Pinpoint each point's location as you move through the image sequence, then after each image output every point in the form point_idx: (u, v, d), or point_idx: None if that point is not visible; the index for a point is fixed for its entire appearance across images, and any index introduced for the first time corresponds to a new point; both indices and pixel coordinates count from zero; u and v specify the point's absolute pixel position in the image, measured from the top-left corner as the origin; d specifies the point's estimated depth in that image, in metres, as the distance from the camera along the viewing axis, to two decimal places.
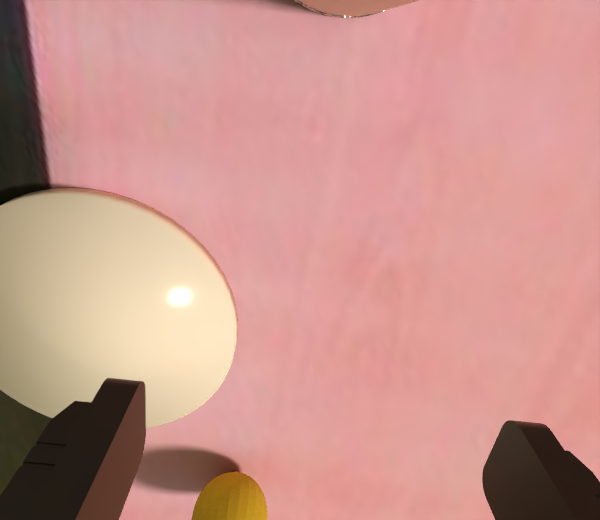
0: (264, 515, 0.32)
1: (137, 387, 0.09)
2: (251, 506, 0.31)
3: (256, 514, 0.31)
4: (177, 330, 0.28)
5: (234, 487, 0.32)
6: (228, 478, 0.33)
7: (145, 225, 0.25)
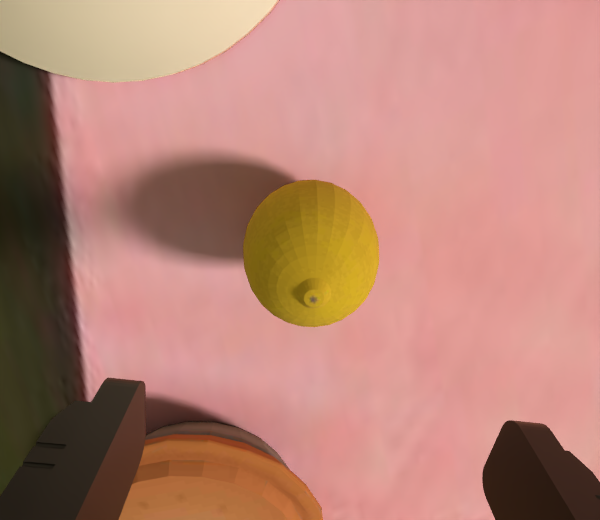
0: (375, 232, 0.18)
1: (137, 387, 0.09)
2: (356, 203, 0.17)
3: (366, 216, 0.17)
4: None
5: (321, 181, 0.18)
6: (307, 180, 0.19)
7: None
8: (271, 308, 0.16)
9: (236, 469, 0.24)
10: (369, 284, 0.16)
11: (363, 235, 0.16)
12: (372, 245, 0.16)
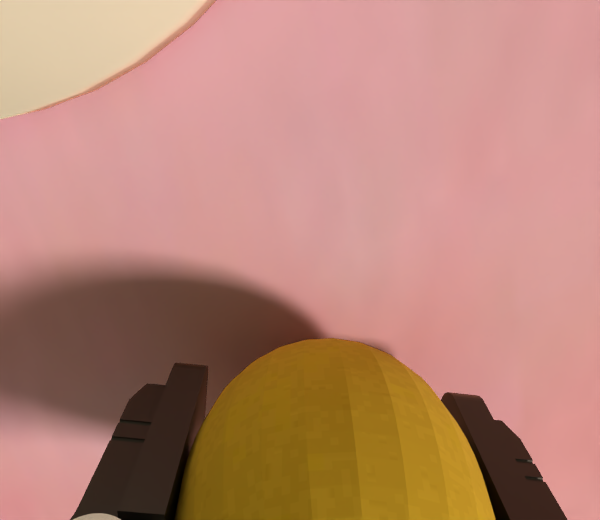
0: None
1: (204, 371, 0.09)
2: (446, 433, 0.07)
3: (472, 471, 0.07)
4: None
5: (357, 364, 0.08)
6: (322, 343, 0.09)
7: None
8: None
9: None
10: None
11: None
12: None
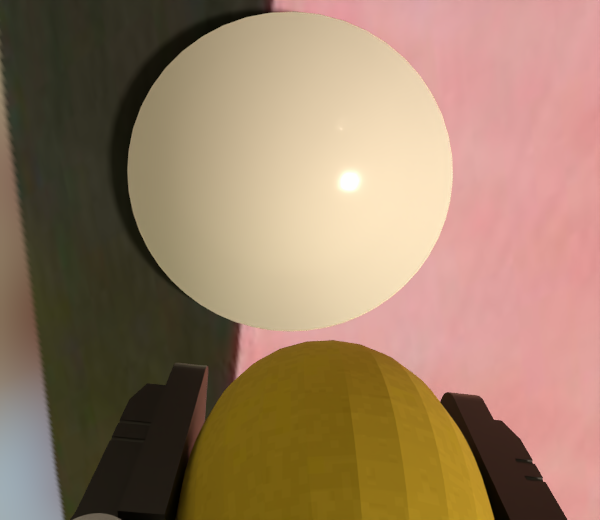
0: None
1: (204, 371, 0.09)
2: (446, 436, 0.07)
3: (472, 474, 0.07)
4: (385, 197, 0.25)
5: (357, 366, 0.08)
6: (322, 345, 0.09)
7: (381, 55, 0.22)
8: None
9: None
10: None
11: None
12: None
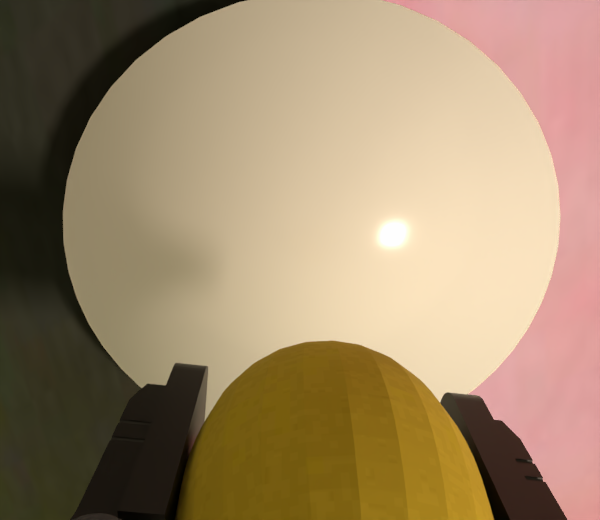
0: None
1: (204, 371, 0.09)
2: (445, 436, 0.07)
3: (472, 474, 0.07)
4: (452, 274, 0.16)
5: (356, 367, 0.08)
6: (322, 345, 0.09)
7: (460, 62, 0.13)
8: None
9: None
10: None
11: None
12: None
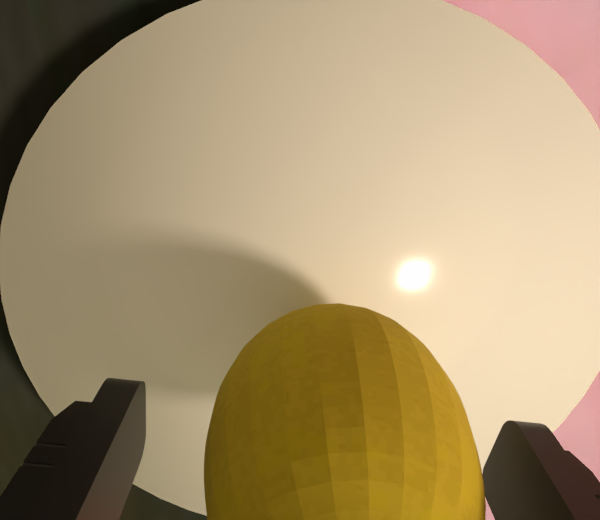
0: None
1: (137, 387, 0.09)
2: (435, 374, 0.08)
3: (457, 405, 0.08)
4: (492, 336, 0.13)
5: (360, 320, 0.09)
6: (330, 305, 0.10)
7: (513, 73, 0.10)
8: None
9: None
10: None
11: (466, 480, 0.07)
12: (480, 487, 0.07)
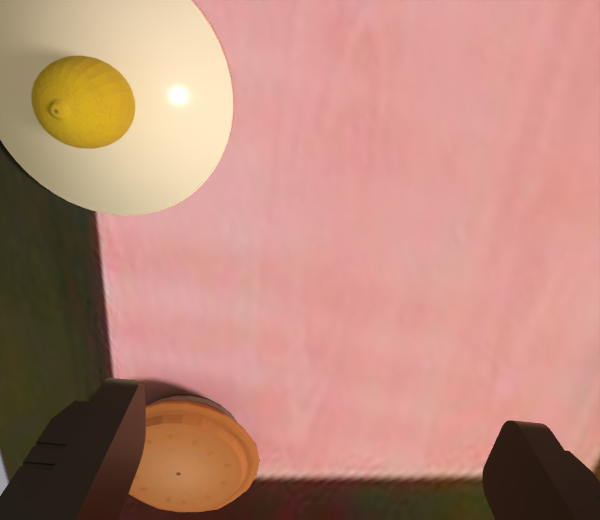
0: (124, 88, 0.28)
1: (137, 387, 0.09)
2: (106, 66, 0.27)
3: (111, 74, 0.27)
4: (180, 96, 0.32)
5: None
6: None
7: None
8: (45, 128, 0.26)
9: (202, 419, 0.41)
10: (105, 111, 0.26)
11: (97, 79, 0.26)
12: (107, 88, 0.26)
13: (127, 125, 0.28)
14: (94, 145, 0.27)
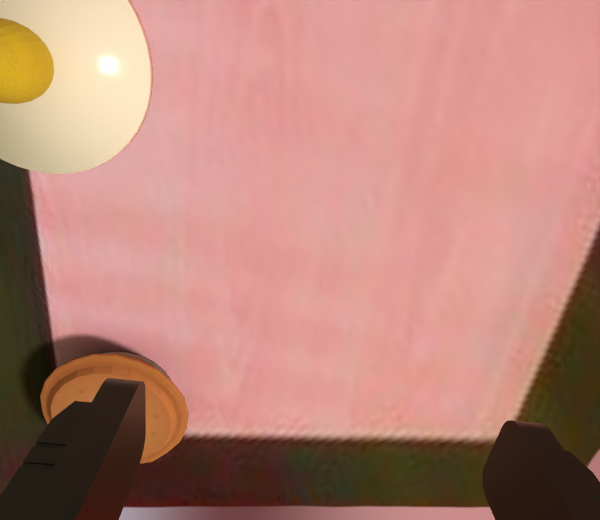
0: (39, 49, 0.30)
1: (137, 387, 0.09)
2: (20, 28, 0.30)
3: (24, 35, 0.30)
4: (100, 61, 0.35)
5: None
6: None
7: None
8: None
9: (131, 371, 0.44)
10: (16, 67, 0.29)
11: (8, 37, 0.28)
12: (19, 46, 0.29)
13: (43, 83, 0.31)
14: (9, 99, 0.30)
